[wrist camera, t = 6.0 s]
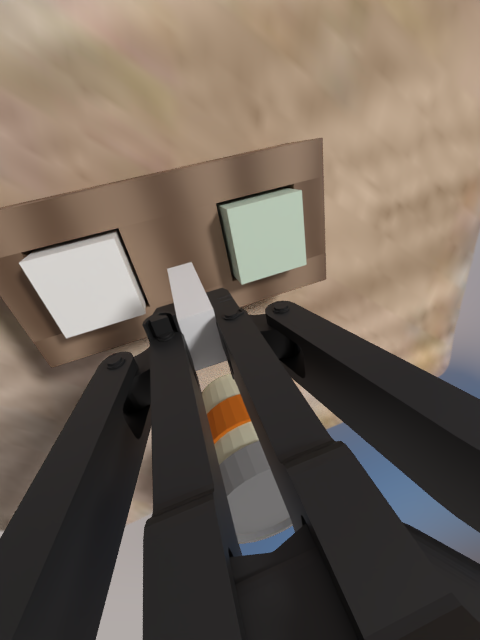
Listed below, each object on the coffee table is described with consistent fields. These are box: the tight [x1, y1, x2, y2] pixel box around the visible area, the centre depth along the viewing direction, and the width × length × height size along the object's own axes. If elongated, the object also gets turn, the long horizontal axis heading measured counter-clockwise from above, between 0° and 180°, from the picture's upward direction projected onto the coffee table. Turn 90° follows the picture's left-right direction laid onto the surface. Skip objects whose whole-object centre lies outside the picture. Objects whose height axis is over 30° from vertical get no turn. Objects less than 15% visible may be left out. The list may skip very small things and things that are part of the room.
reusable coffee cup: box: [202, 374, 293, 544], centre depth 34 cm, size 13×12×15 cm
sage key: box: [216, 187, 307, 285], centre depth 24 cm, size 6×6×5 cm
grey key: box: [19, 228, 146, 338], centre depth 22 cm, size 6×6×5 cm
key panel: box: [0, 138, 326, 368], centre depth 25 cm, size 26×12×6 cm, turn 101°
